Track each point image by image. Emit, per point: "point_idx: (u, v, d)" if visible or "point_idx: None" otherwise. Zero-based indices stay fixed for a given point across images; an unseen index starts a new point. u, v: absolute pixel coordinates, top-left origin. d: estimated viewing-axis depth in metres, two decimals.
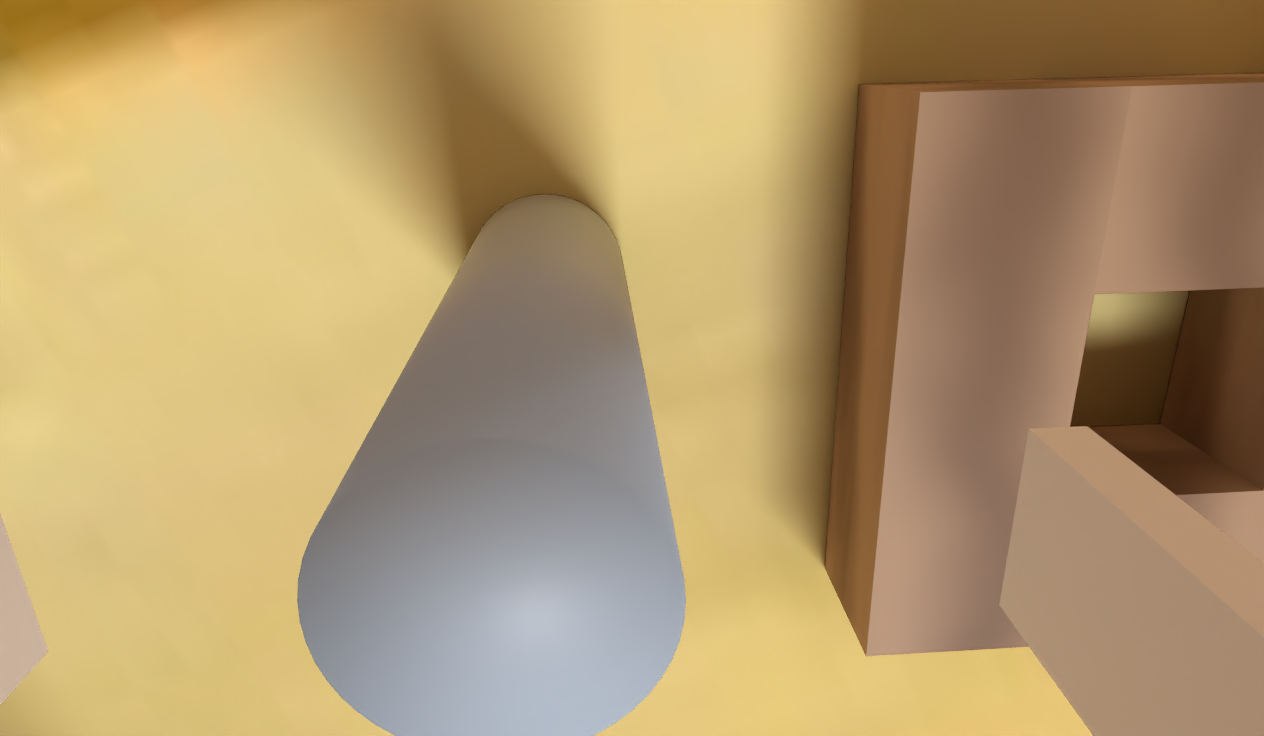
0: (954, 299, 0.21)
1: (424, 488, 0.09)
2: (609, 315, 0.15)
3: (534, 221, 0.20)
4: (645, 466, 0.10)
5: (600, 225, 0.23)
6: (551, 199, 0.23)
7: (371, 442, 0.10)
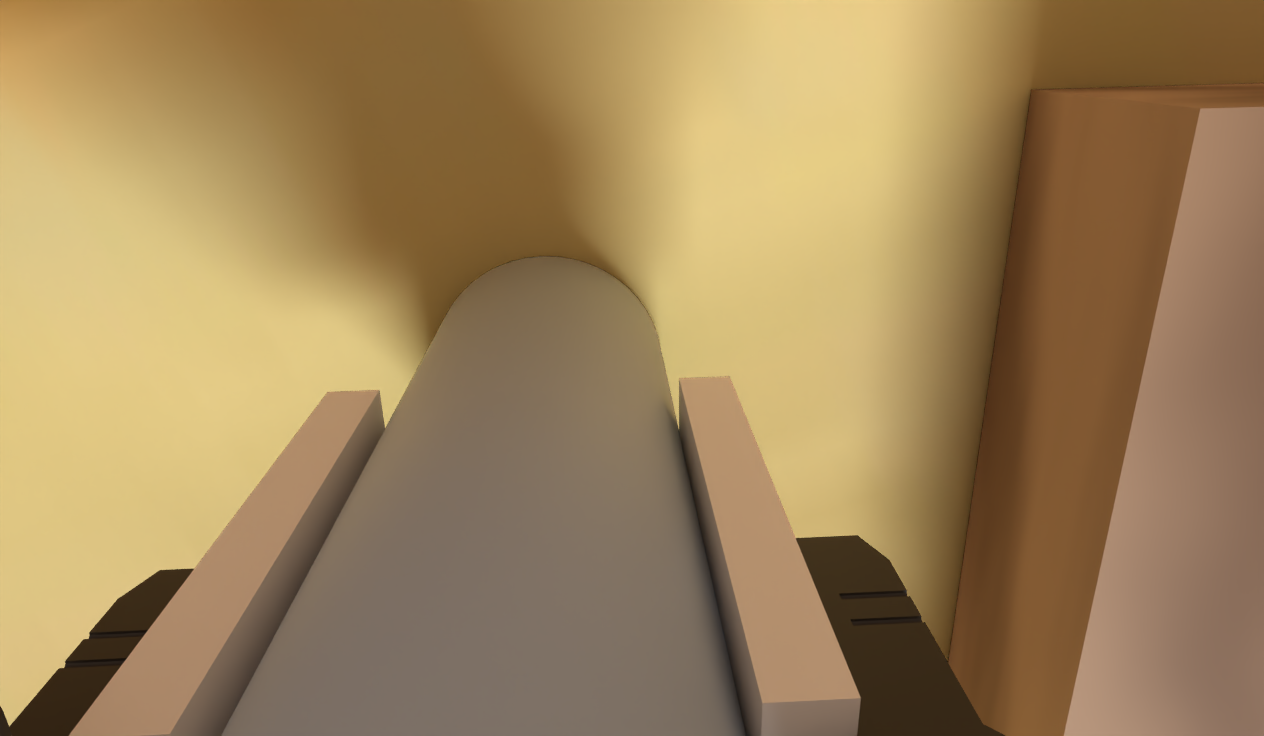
0: (1215, 446, 0.13)
1: None
2: (672, 603, 0.07)
3: (525, 323, 0.12)
4: None
5: (631, 310, 0.15)
6: (555, 267, 0.15)
7: None
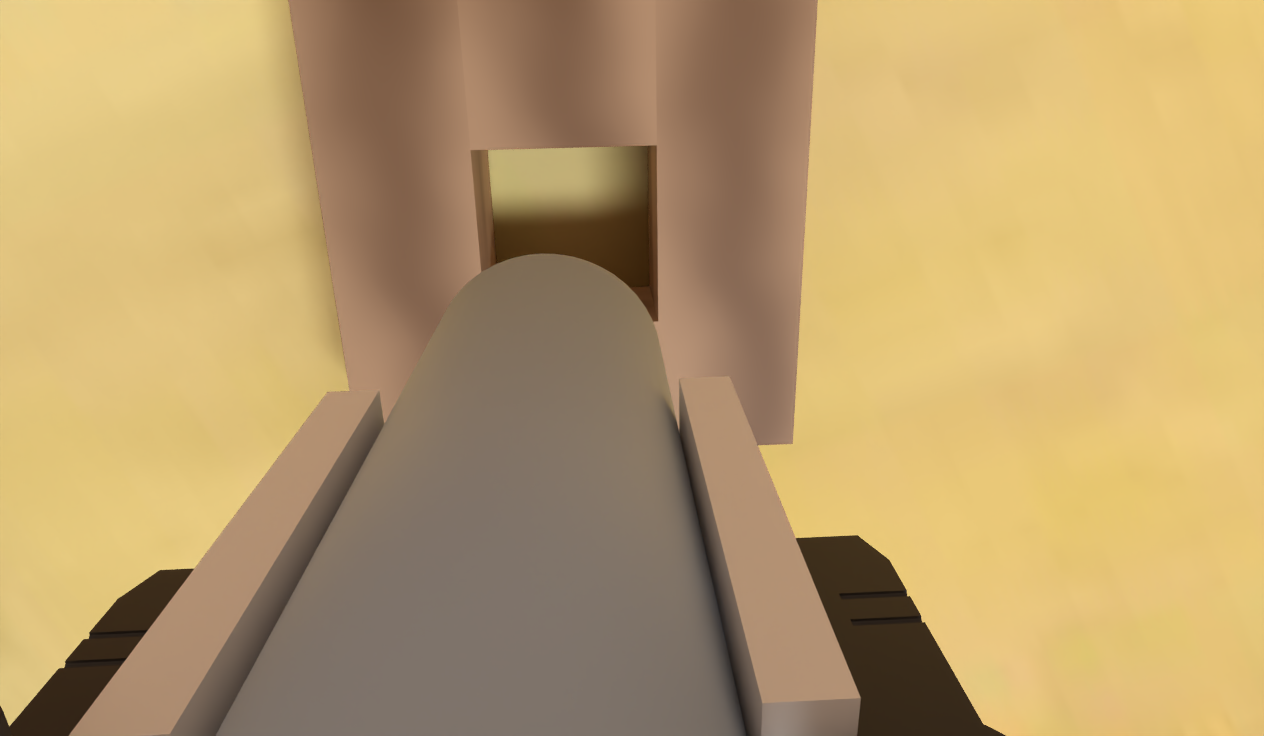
0: (356, 153, 0.27)
1: None
2: (671, 598, 0.07)
3: (524, 319, 0.12)
4: None
5: (630, 307, 0.15)
6: (554, 265, 0.15)
7: None
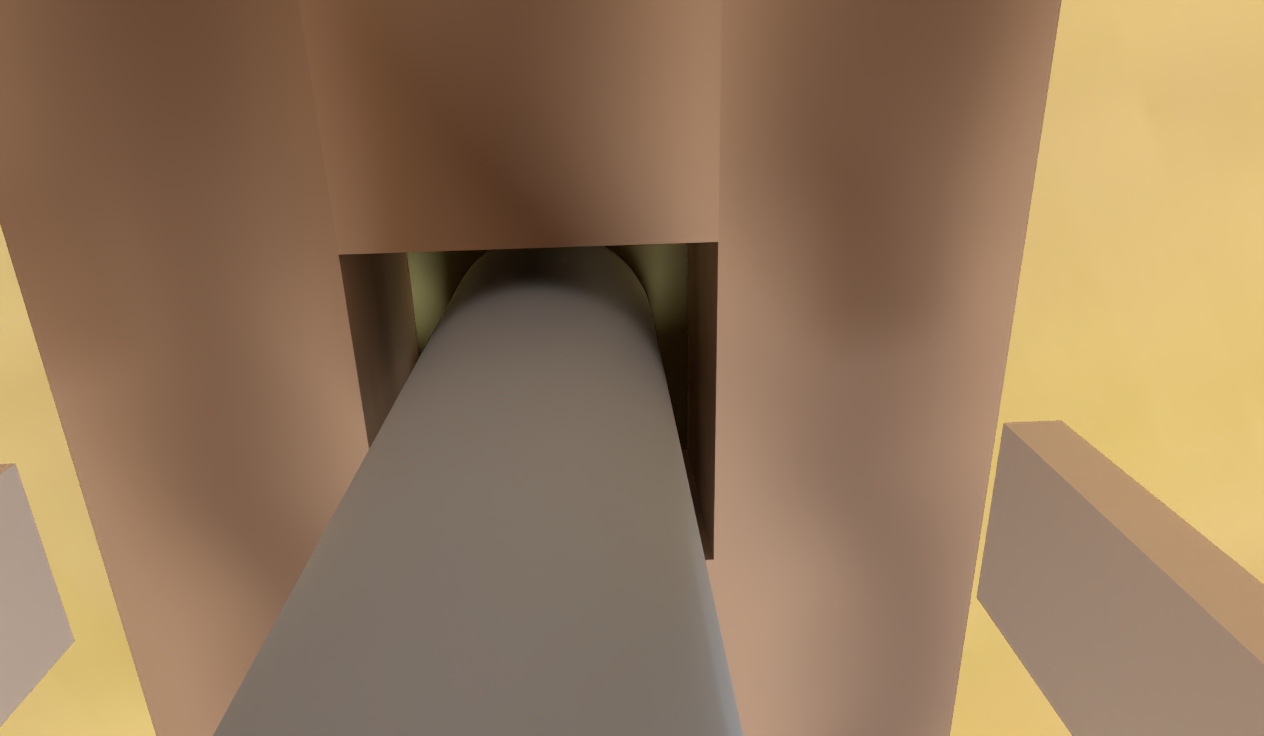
0: (105, 262, 0.13)
1: None
2: (651, 481, 0.09)
3: (532, 282, 0.14)
4: None
5: (624, 277, 0.17)
6: None
7: None
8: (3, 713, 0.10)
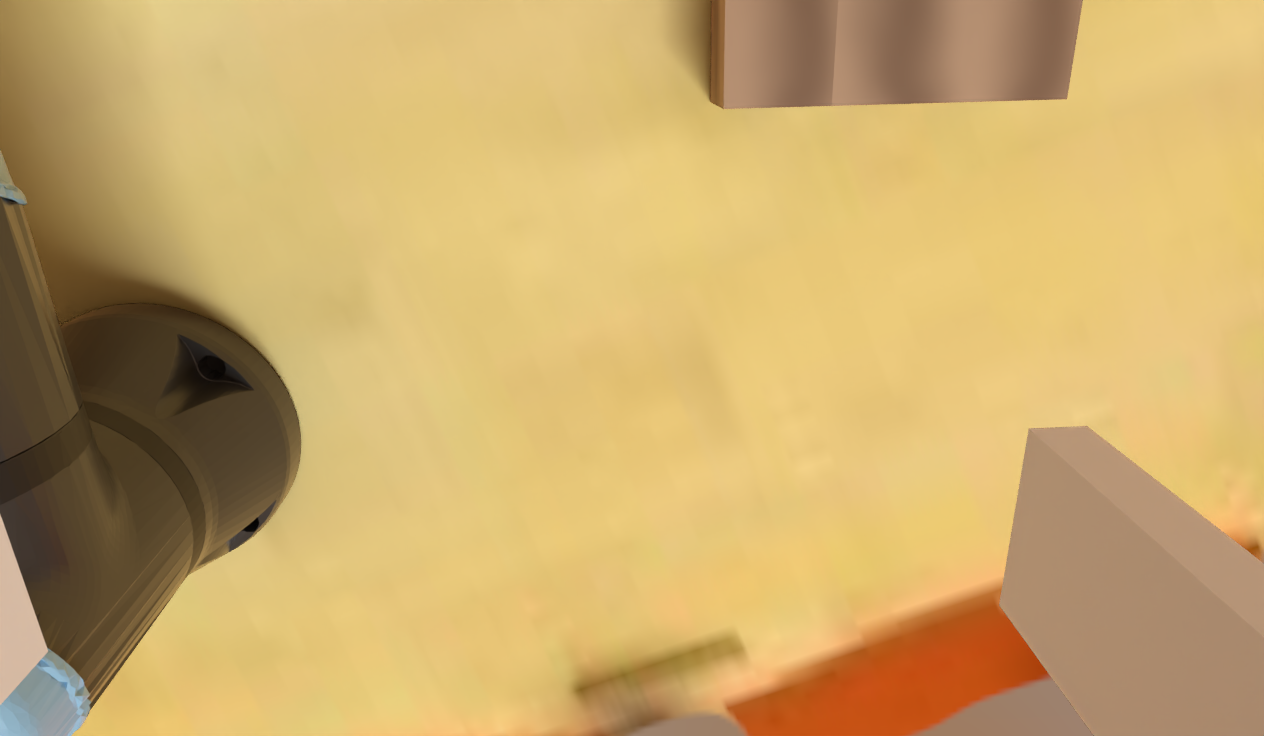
0: None
1: None
2: None
3: None
4: None
5: None
6: None
7: None
8: None
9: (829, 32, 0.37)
